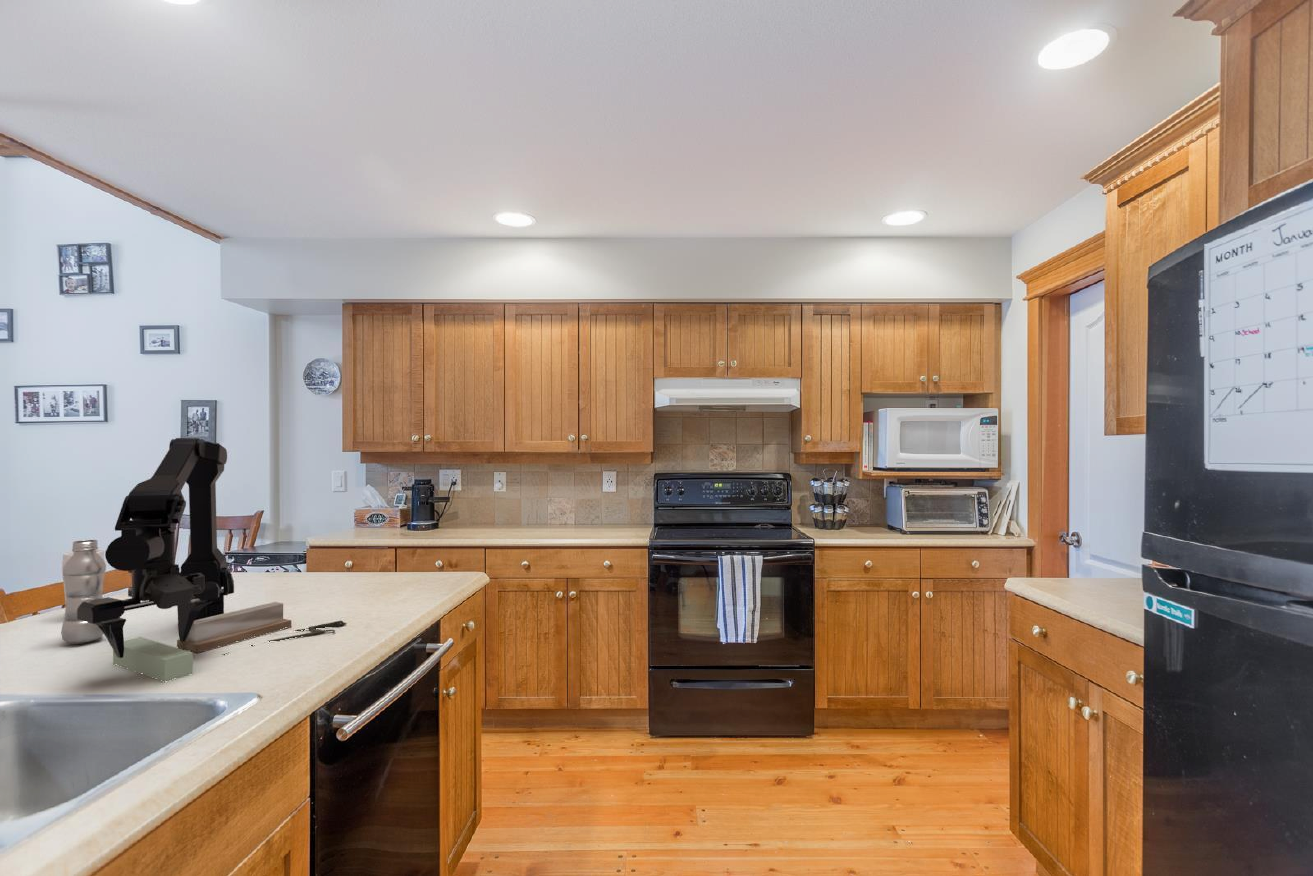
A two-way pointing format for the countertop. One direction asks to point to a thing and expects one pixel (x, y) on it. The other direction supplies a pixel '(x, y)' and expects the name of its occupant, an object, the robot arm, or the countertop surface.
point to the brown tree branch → (314, 630)
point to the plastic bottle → (82, 590)
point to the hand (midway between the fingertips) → (152, 649)
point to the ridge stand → (234, 627)
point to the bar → (155, 659)
